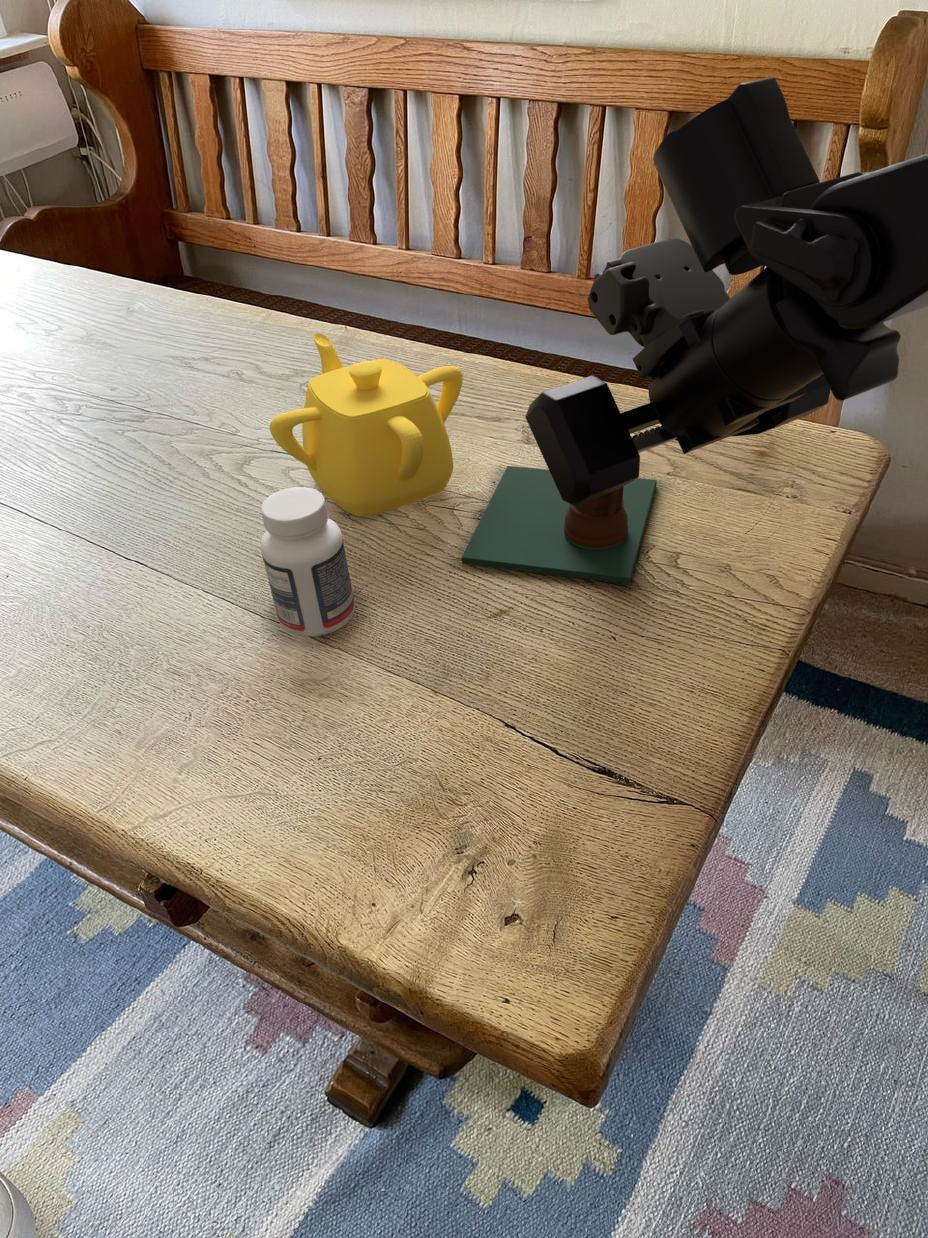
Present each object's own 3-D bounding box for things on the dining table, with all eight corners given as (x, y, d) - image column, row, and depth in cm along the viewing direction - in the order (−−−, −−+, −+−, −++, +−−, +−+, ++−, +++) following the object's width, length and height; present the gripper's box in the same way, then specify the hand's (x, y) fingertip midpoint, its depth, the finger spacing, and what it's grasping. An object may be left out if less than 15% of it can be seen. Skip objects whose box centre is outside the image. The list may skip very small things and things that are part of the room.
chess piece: (605, 508, 72) (609, 384, 66) (644, 541, 68) (653, 413, 62) (552, 526, 70) (551, 401, 64) (589, 561, 67) (592, 432, 60)
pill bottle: (355, 586, 67) (336, 476, 62) (356, 634, 63) (336, 521, 58) (279, 595, 67) (254, 485, 61) (276, 643, 63) (248, 530, 57)
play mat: (656, 486, 75) (656, 479, 75) (629, 585, 65) (630, 577, 65) (507, 471, 78) (507, 465, 78) (461, 564, 69) (460, 557, 68)
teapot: (263, 515, 75) (235, 395, 69) (333, 437, 84) (314, 324, 78) (426, 540, 71) (412, 414, 65) (481, 454, 80) (474, 337, 74)
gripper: (827, 168, 52) (678, 308, 67) (541, 245, 46) (446, 382, 60) (914, 353, 52) (745, 453, 66) (638, 458, 45) (518, 544, 60)
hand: (618, 453), depth 63 cm, fingers open, 9 cm apart
